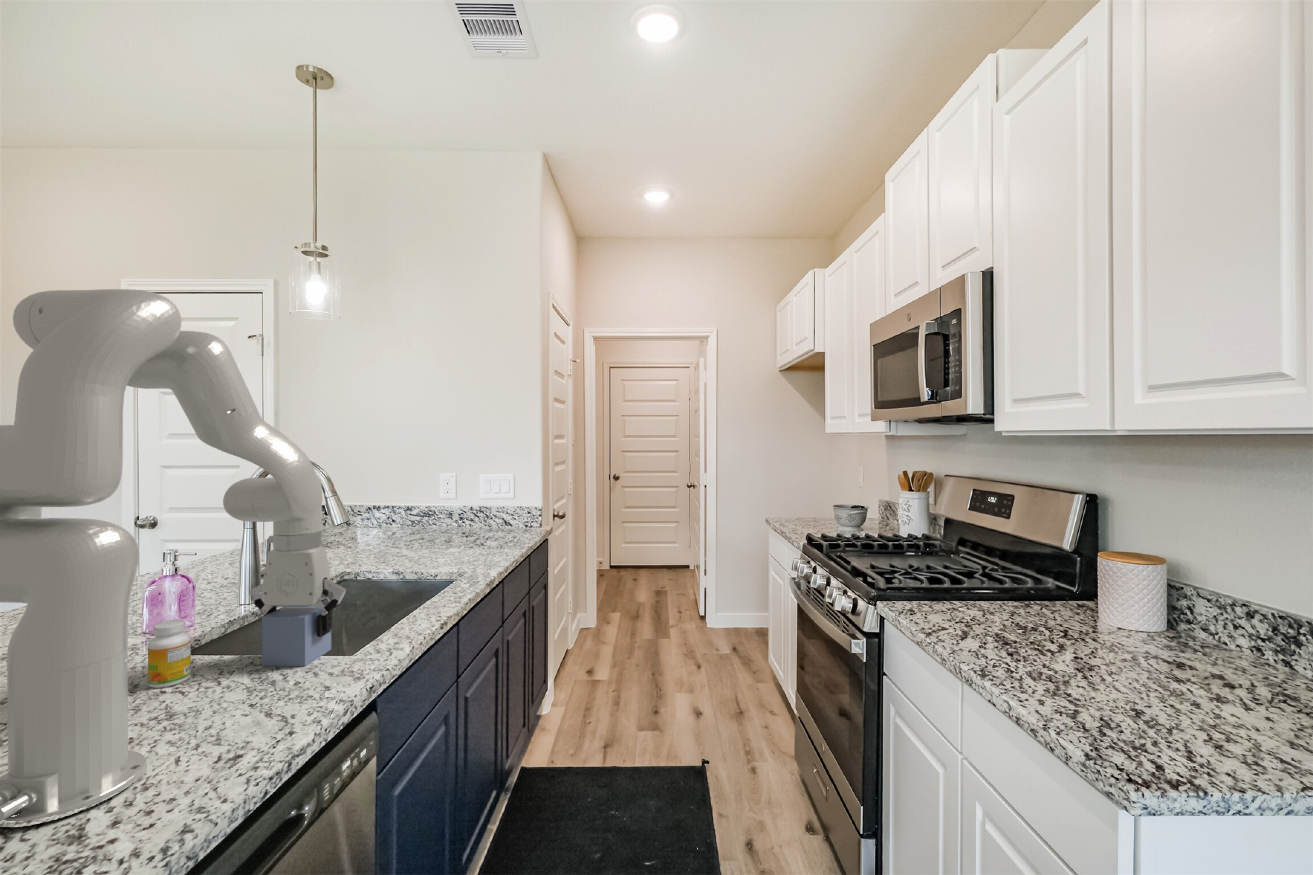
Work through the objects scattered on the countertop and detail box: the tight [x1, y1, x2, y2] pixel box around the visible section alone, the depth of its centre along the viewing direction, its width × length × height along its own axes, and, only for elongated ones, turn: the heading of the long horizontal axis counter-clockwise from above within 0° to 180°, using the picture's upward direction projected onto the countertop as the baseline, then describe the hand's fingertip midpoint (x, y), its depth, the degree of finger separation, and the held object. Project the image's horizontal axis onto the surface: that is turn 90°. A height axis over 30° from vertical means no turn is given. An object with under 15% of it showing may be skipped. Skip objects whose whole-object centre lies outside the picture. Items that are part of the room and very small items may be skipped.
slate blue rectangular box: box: [261, 605, 332, 667], centre depth 101 cm, size 8×8×9 cm
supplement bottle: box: [147, 619, 192, 689], centre depth 92 cm, size 5×5×10 cm
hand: (298, 634), depth 101 cm, fingers open, 9 cm apart
